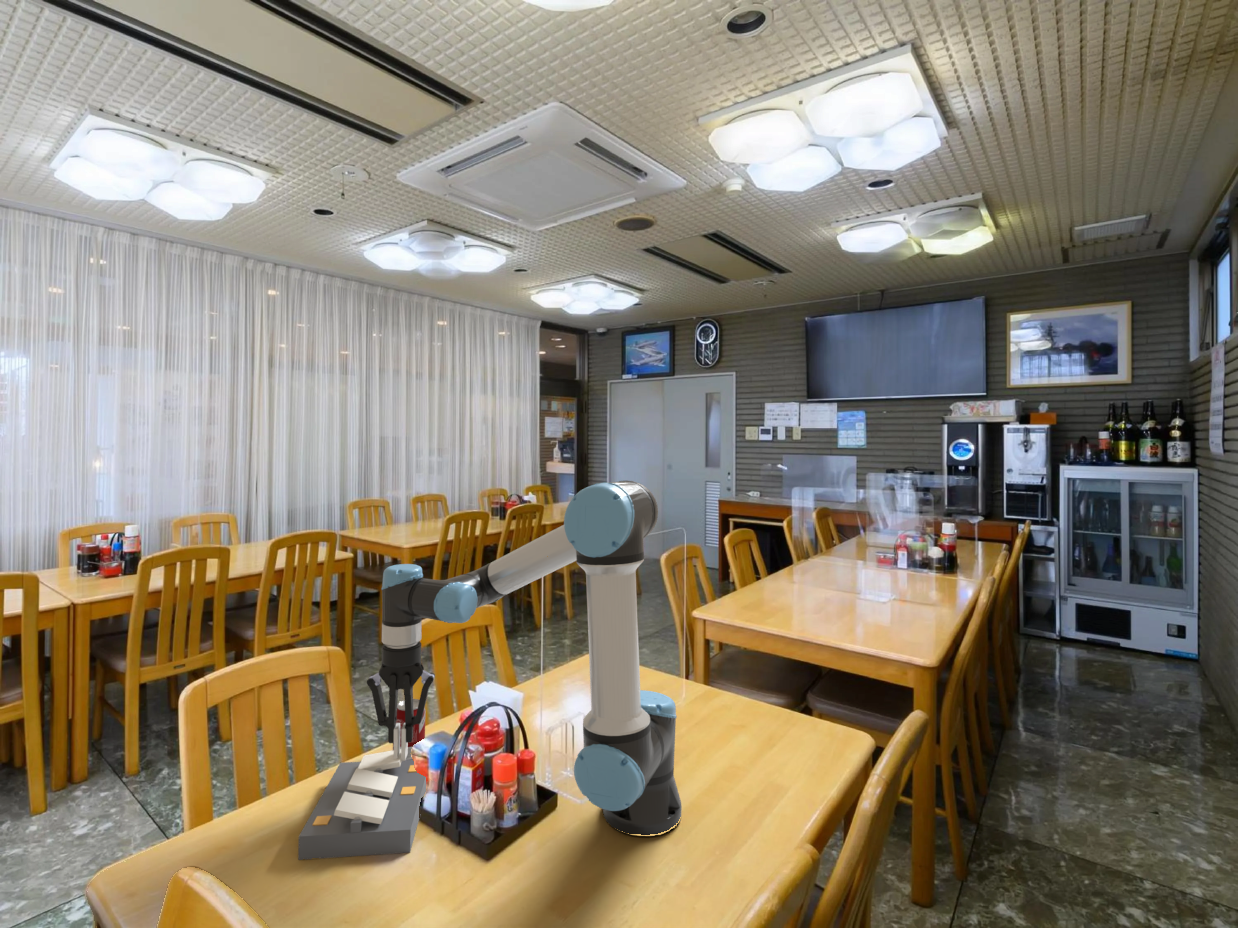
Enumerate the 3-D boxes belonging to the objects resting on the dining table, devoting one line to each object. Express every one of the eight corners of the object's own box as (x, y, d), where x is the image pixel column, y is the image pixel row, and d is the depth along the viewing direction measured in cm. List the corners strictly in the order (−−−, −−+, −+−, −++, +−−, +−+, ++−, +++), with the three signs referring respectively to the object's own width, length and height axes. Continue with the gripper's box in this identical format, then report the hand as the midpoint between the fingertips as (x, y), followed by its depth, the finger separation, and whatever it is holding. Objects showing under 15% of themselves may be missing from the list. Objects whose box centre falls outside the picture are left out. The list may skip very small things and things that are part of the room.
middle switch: (395, 783, 120) (398, 776, 120) (389, 801, 114) (392, 792, 114) (354, 775, 119) (356, 767, 119) (345, 792, 113) (348, 784, 113)
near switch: (387, 808, 112) (389, 799, 112) (379, 827, 106) (382, 819, 106) (342, 799, 111) (344, 790, 111) (332, 819, 105) (335, 809, 105)
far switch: (405, 755, 128) (404, 747, 128) (400, 769, 122) (399, 762, 122) (365, 762, 127) (364, 754, 127) (357, 777, 121) (356, 769, 121)
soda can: (414, 766, 134) (415, 711, 134) (386, 762, 135) (387, 708, 135) (430, 751, 141) (431, 699, 140) (403, 747, 142) (404, 696, 142)
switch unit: (430, 776, 130) (431, 750, 130) (410, 852, 106) (410, 819, 106) (340, 781, 127) (340, 754, 127) (298, 859, 104) (298, 826, 103)
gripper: (439, 635, 129) (438, 746, 130) (370, 637, 127) (369, 749, 128) (434, 647, 121) (433, 765, 122) (360, 649, 119) (359, 769, 120)
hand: (400, 757), depth 125 cm, fingers closed, pressing on far switch
